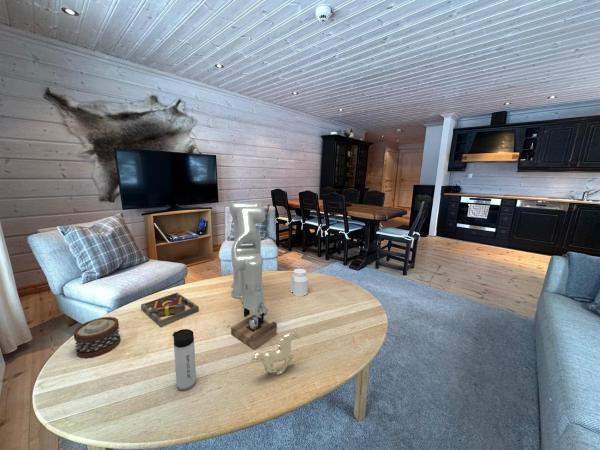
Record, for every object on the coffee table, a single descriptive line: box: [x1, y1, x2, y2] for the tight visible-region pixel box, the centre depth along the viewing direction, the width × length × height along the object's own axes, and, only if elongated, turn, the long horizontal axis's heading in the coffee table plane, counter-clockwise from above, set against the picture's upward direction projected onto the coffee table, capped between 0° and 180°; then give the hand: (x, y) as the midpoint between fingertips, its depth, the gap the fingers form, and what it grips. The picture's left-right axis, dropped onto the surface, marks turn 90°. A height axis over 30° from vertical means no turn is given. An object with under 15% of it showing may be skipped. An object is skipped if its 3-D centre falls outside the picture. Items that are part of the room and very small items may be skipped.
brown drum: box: [73, 316, 122, 359], centre depth 102 cm, size 15×11×15 cm
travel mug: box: [171, 328, 197, 392], centre depth 84 cm, size 6×7×20 cm
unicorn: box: [249, 326, 301, 376], centre depth 90 cm, size 20×4×17 cm, turn 119°
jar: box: [290, 268, 309, 297], centre depth 157 cm, size 12×10×15 cm
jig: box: [230, 314, 278, 350], centre depth 113 cm, size 16×14×6 cm
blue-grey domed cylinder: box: [250, 317, 258, 332], centre depth 113 cm, size 4×4×8 cm
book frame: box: [140, 292, 200, 328], centre depth 132 cm, size 24×19×3 cm
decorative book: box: [150, 296, 187, 318], centre depth 131 cm, size 11×16×5 cm
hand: (253, 319), depth 113 cm, fingers open, 9 cm apart
